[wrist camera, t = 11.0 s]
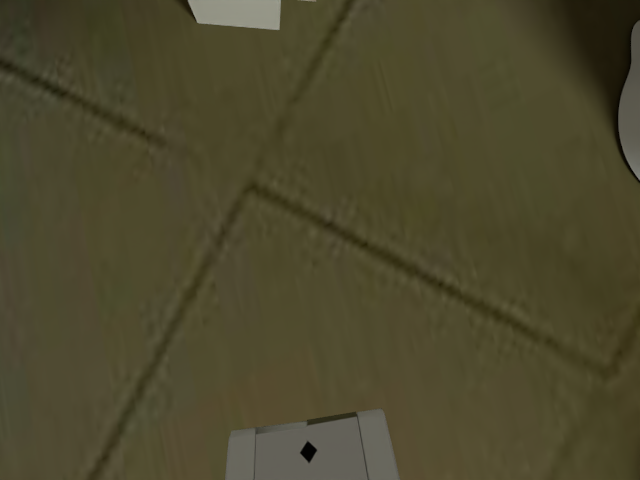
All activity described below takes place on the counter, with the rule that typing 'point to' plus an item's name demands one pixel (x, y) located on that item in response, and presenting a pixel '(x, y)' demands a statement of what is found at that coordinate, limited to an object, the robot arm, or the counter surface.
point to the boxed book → (238, 12)
